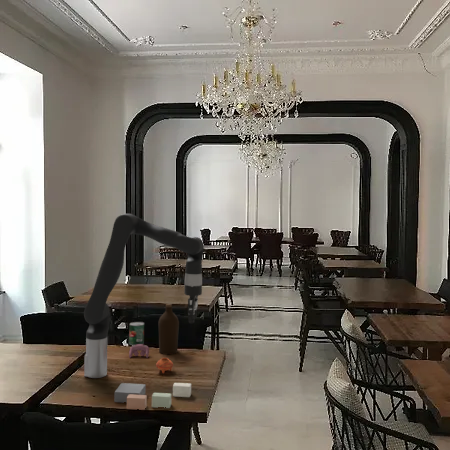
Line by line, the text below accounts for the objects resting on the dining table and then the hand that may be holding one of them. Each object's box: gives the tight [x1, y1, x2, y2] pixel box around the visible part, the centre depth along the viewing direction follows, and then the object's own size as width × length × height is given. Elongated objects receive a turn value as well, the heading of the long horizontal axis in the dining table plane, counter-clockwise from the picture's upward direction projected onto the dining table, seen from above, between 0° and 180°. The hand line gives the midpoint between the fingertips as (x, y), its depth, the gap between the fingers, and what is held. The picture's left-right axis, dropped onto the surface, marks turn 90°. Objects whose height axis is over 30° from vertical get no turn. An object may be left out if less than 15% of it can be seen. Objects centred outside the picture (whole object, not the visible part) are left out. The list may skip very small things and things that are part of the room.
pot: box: [155, 357, 174, 374], centre depth 246 cm, size 8×8×7 cm
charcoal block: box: [113, 382, 147, 404], centre depth 213 cm, size 10×10×4 cm
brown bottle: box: [157, 303, 180, 355], centre depth 276 cm, size 11×11×25 cm
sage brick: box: [151, 392, 172, 409], centre depth 206 cm, size 7×4×4 cm, turn 85°
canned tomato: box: [128, 321, 145, 346], centre depth 290 cm, size 8×8×11 cm
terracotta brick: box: [126, 394, 148, 411], centre depth 204 cm, size 7×4×4 cm, turn 85°
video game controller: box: [128, 344, 150, 359], centre depth 268 cm, size 10×5×7 cm, turn 92°
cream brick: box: [172, 382, 192, 398], centre depth 218 cm, size 7×4×4 cm, turn 85°
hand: (192, 320), depth 230 cm, fingers open, 8 cm apart
